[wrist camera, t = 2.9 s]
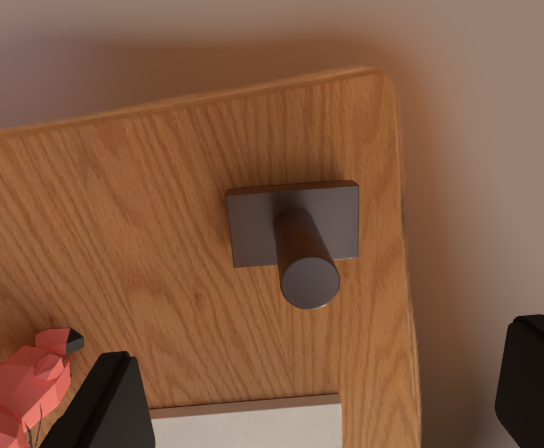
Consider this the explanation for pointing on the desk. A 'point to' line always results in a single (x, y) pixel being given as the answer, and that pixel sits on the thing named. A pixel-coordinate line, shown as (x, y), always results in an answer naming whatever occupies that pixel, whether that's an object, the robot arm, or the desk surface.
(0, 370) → the cat figurine
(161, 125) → the desk surface
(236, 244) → the stamp
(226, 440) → the tile
